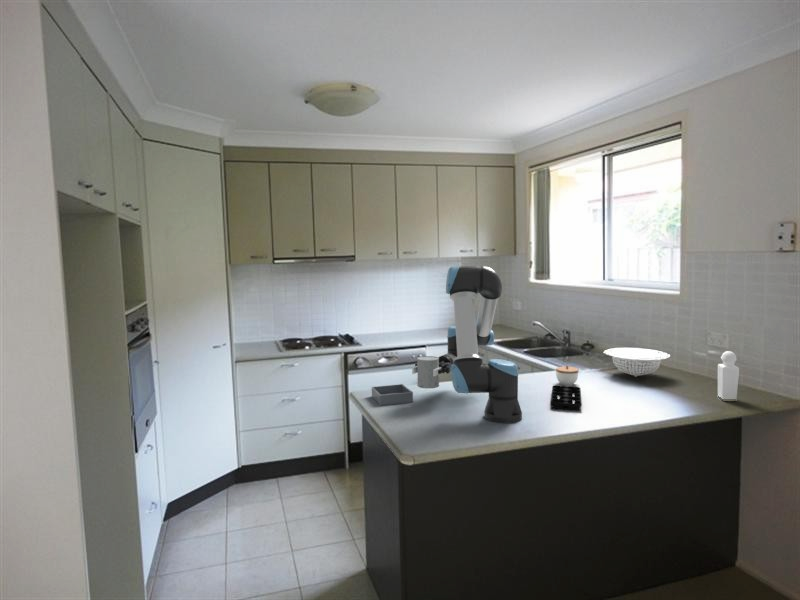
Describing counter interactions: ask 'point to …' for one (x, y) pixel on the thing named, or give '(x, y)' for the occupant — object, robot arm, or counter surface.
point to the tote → (392, 394)
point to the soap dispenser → (728, 376)
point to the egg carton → (566, 398)
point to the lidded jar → (567, 375)
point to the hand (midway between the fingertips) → (423, 371)
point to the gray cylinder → (427, 371)
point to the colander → (636, 359)
